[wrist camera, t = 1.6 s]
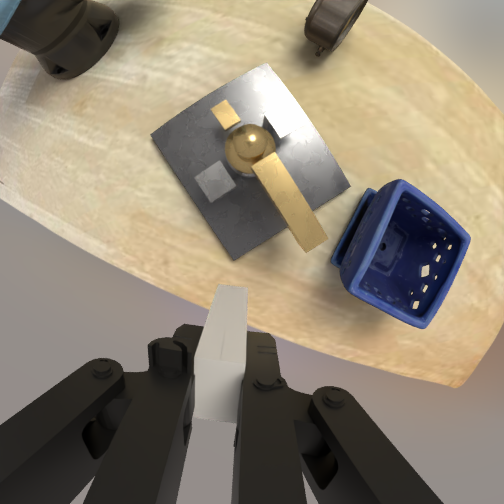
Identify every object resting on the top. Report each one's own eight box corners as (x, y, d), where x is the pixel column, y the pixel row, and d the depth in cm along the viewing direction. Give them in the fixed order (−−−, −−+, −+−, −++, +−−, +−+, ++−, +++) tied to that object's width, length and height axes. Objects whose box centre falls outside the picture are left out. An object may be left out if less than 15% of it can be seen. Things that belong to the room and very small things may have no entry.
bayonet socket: (154, 136, 33) (133, 125, 26) (265, 66, 31) (269, 42, 24) (234, 257, 37) (230, 273, 30) (347, 186, 35) (368, 186, 28)
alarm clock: (323, 67, 31) (363, 5, 15) (290, 48, 30) (311, -22, 14) (353, 26, 29) (394, -31, 13) (323, 9, 28) (352, -54, 12)
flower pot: (316, 263, 37) (343, 295, 25) (359, 177, 35) (403, 174, 23) (386, 298, 38) (425, 333, 27) (424, 222, 36) (475, 236, 24)
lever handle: (199, 119, 28) (186, 101, 21) (238, 95, 27) (235, 71, 21) (284, 246, 31) (293, 261, 25) (322, 221, 30) (340, 230, 24)
